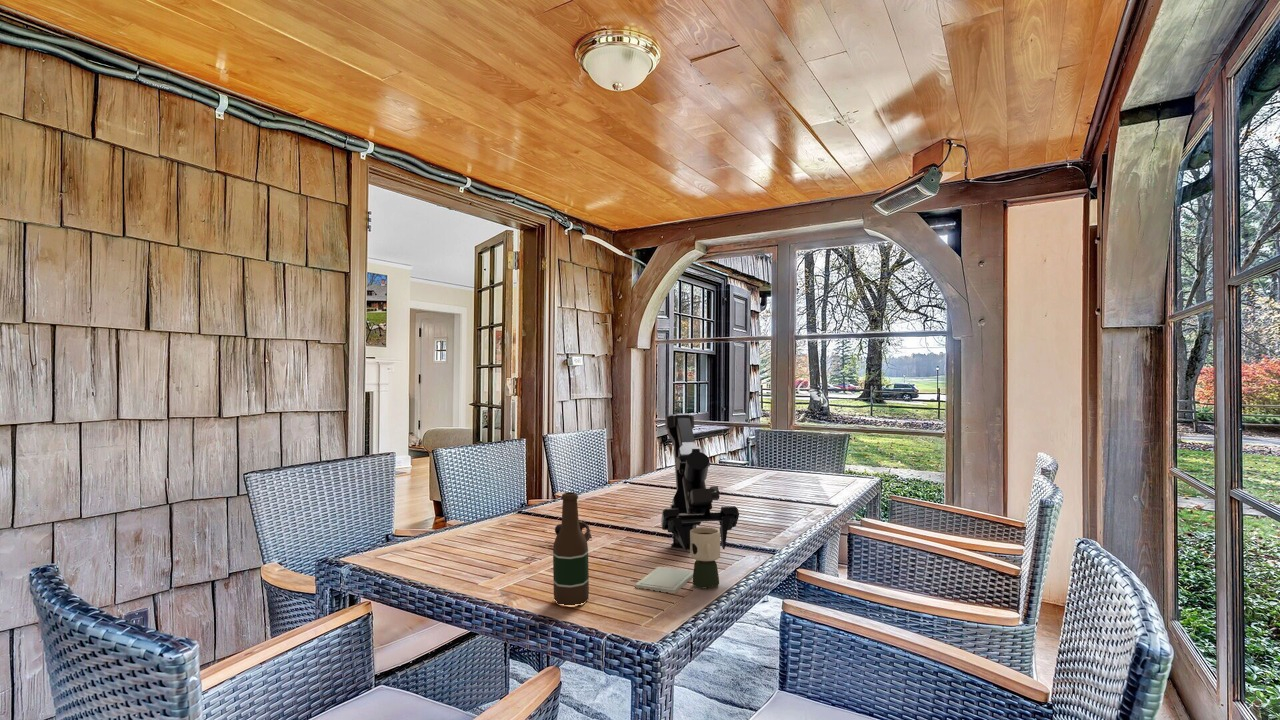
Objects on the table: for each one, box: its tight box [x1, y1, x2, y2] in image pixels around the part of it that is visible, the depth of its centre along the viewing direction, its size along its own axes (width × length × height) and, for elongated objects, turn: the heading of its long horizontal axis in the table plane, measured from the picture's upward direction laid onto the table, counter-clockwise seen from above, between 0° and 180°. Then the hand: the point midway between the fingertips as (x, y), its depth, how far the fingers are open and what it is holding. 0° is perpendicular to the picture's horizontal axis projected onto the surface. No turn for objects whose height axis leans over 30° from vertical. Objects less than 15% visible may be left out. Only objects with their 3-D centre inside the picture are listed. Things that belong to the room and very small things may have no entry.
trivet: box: [634, 566, 694, 594], centre depth 144 cm, size 10×14×1 cm
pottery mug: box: [554, 520, 593, 542], centre depth 175 cm, size 12×10×8 cm
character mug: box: [689, 526, 721, 589], centre depth 140 cm, size 11×7×13 cm, turn 2°
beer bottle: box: [552, 491, 590, 605], centre depth 132 cm, size 8×8×24 cm
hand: (705, 549), depth 141 cm, fingers open, 9 cm apart
